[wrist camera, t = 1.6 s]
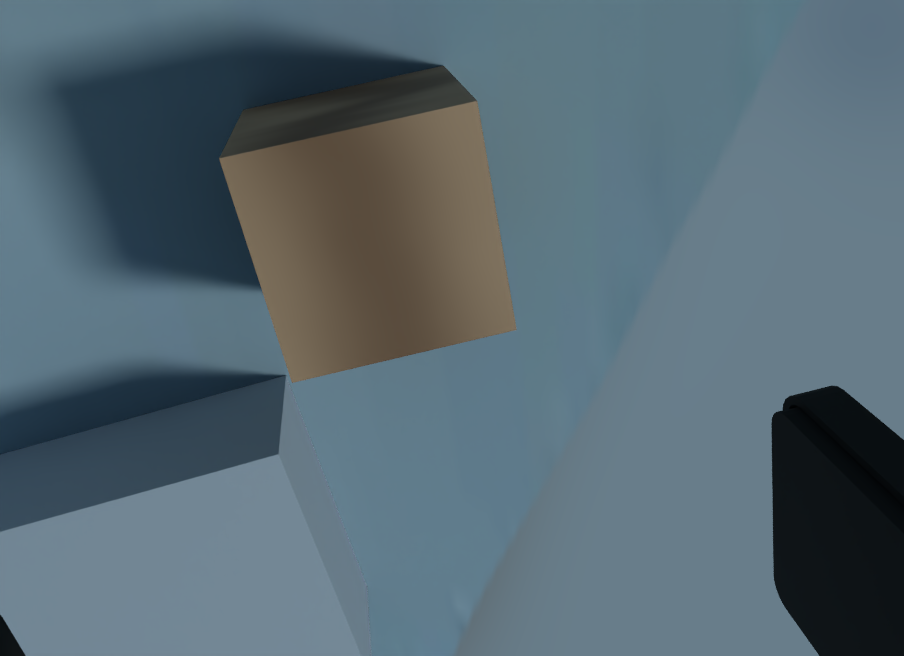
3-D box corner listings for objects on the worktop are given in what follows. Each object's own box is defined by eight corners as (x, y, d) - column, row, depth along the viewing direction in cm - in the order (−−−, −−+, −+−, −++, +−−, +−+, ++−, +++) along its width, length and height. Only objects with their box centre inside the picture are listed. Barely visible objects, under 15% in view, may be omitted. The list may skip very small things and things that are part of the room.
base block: (286, 371, 28) (278, 454, 23) (367, 581, 32) (373, 685, 28) (1, 449, 27) (-62, 549, 23) (123, 650, 32) (89, 766, 27)
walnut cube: (442, 65, 24) (477, 100, 18) (478, 251, 26) (516, 329, 21) (243, 109, 23) (218, 158, 18) (299, 292, 26) (292, 382, 21)
